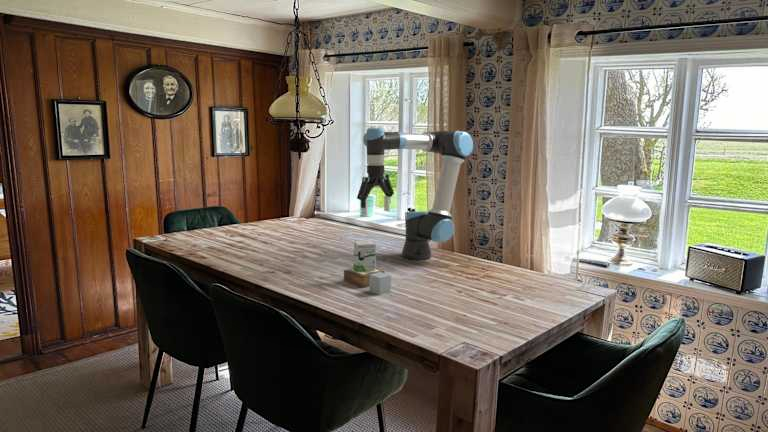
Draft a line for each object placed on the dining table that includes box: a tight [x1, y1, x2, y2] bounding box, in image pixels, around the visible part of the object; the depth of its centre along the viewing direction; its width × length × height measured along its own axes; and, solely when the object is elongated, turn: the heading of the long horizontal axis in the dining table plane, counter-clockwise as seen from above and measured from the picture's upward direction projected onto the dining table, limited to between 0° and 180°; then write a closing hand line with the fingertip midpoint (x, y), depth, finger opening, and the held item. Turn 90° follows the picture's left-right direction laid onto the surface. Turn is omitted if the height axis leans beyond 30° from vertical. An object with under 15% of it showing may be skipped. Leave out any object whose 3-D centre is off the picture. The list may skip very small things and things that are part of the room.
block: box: [368, 272, 392, 296], centre depth 212 cm, size 6×6×7 cm
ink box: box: [352, 240, 377, 272], centre depth 223 cm, size 9×5×12 cm, turn 105°
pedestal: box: [343, 267, 385, 289], centre depth 224 cm, size 12×12×5 cm
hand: (376, 213), depth 233 cm, fingers open, 13 cm apart
